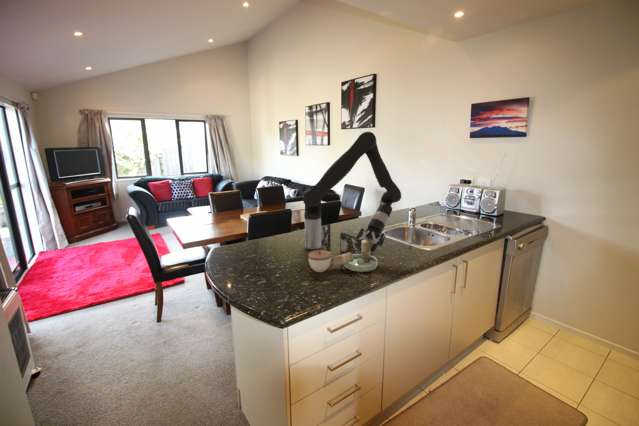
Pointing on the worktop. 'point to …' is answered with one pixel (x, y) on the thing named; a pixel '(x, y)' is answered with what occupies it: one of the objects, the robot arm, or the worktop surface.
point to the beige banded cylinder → (341, 259)
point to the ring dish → (361, 263)
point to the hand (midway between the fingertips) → (364, 249)
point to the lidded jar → (319, 260)
